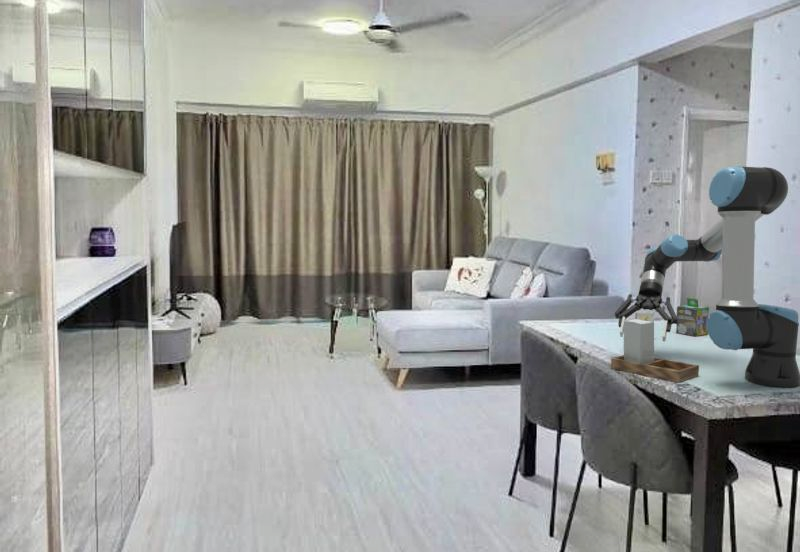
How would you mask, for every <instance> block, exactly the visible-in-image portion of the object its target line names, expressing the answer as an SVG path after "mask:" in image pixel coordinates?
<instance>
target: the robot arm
mask: <svg viewBox="0 0 800 552" xmlns="http://www.w3.org/2000/svg"><path fill="white" fill-rule="evenodd" d="M708 190H709V191H708V197H709V200H711V201H710V202H711V204H713V206H716V207H717V214H718V215H719V216H720V217H721V219H720V220H718V221H717V222H716V223H715V224H714V225H712V227H710V228H709V229H708V230H707V231H706V232H705V233H704V234H703V235H701V236H700V237H699V238H697V239H686V238H685V237H684V236H683V235H680V234H677V233H674V234H670V235H669V236H667V237H666V238H665V239H664V240H662V242H661V243H660V245H658V246H657V247H653V248H651V249H648V250H647V253H646V255H645V257H644V264H643V265H644V266H643V269H642V270H643V271H642V275H641V280H640V284H639V290H638V295H637V296H636V295H632V294H631V293H630V294H627V295H628V296H627V299H625V300H624V302H623V303H622V304H621V305H620V306H619V307H618V308H617V310H616V311H615V312H614V317H615V319H618V327H619V328H620V329H619V336H620V337H622V338H624V320H627V318H629V317H630V316H632V315H633V314H634V313H635V314H636V313H637V312H638V311H640V310H649V311H654V310H655V312H656V313H658V314H659V315H660V316H661V318H662V319H663V320H664V325H663V331H662V342H666V340H667V339H666V338H667V333H670V332H671V330H672V325H673V324H674V325H677V323H678V319H677V313H676V312H675V310H674V308H673V306H672V303H671V298H670V296H667V297H666V298H662V295H663V290H664V286H665V285H664V284H665V278H666V272H667V270H668V269H669V268H670V267H671V266H672V265H674V263H677V262H715V261H717V260H719V259H720V258H721V255H722V261H721V263H722V264H721V299H720V300H719V301H717V302H716V303H715V310H714V311H711V312H710V313H709V317H708V319H707V331H708V334H707V335H708V337H709V338H710V341H712V343H713V344H714V345H715V346H716V347H718V348H719V349H722V350H731V351H738V350H752V355H751V358H750V360H749V361H748V363H747V366H746V368H745V371H744V379H745V380H746V381H748V382H750V383H753V384H756V385H757V384H758V385H763V386H768V387H776V388H795V387H798V386H800V369H799V365H798V362H797V359H796V358H797V345H798V337H799V336H798V334H799V326H800V322H799V312H798V311H797V310H796V309H793V308H788V307H782V306H778V305H777V306H776V305H770V304H764V303H758V302H756V300H755V299H754V297H755V296H754V295H755V294H754V292H755V291H754V290H755V289H754V288H755V285H754V284H755V246H756V245H755V241H756V239H755V238H756V232H755V231H756V221H758V220H759V219H761V218H762V217H763V216H767V215H770V214H772V213H773V212H775V211H776V210H777V209H778V208H779V207H780V206H782V204H783V203H784V201H785V199H786V198H787V196H788V193H789V192H788V191H789V184H788V181H787V178H786V177H785V176H784V175H783V174H782V172H781V171H779V170H777V169H775V168H772V167H768V166H767V167H765V166H764V167H762V166H761V167H759V166H756V167H755V166H736V165H735V166H728V167H724V168H721V169H720V170H719V171H717V172H716V174H715V175H714V176H713V177H712V180H711V182H710V184H709V189H708ZM635 301H636V302H635ZM633 303H634V304H633ZM632 304H633V305H632ZM662 304H664V306H666V309H667V311H668V313H667V312H666V311H665V310H664V309H663V307H662V306H661V305H662Z"/></svg>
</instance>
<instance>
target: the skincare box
mask: <svg viewBox="0 0 800 552" xmlns="http://www.w3.org/2000/svg"><path fill="white" fill-rule="evenodd" d="M623 355H624V360H626V361H631V362H636V363H641V364H646V363H650V362H653V361H654V357H655V322H651V321H644V320H639V319H635V318H633V319H626V320H624V333H623Z"/></svg>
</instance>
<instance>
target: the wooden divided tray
mask: <svg viewBox="0 0 800 552" xmlns="http://www.w3.org/2000/svg"><path fill="white" fill-rule="evenodd" d="M610 369H612V370H617V371H622V372H627V373H631V374H636V375H639V376H640V375H641V376H645V377H651V378H653V379H654V378H655V379H659V378H660V379H659V380H663V379H665V380H664V381H668V380H670V381H669V382H673V381H674V383H677V382H679V383H681V381H682V382H685V381H688V380H690V378H691V379H693V377H694V378H696V377H698V376H699V375H700V374H699V372H700V365H697V364H693V363H688V362H683V361H677V360H671V359H667V358H662V357H658V356H656V357H655V356H654V361H653V362H650V363H646V364H641V363H636V362H631V361H626V360H624V354H623V355H619V356H615V357H611V359H610ZM687 379H688V380H687ZM684 380H685V381H684Z"/></svg>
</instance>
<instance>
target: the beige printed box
mask: <svg viewBox="0 0 800 552" xmlns="http://www.w3.org/2000/svg"><path fill="white" fill-rule="evenodd" d="M654 314H655V313H649V312H648V313H643V312H635V315H634V316H635V317H634V319H639V320H644V321H651V322H654V321H655V317H654V316H655V315H654ZM654 323H655V322H654Z"/></svg>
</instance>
